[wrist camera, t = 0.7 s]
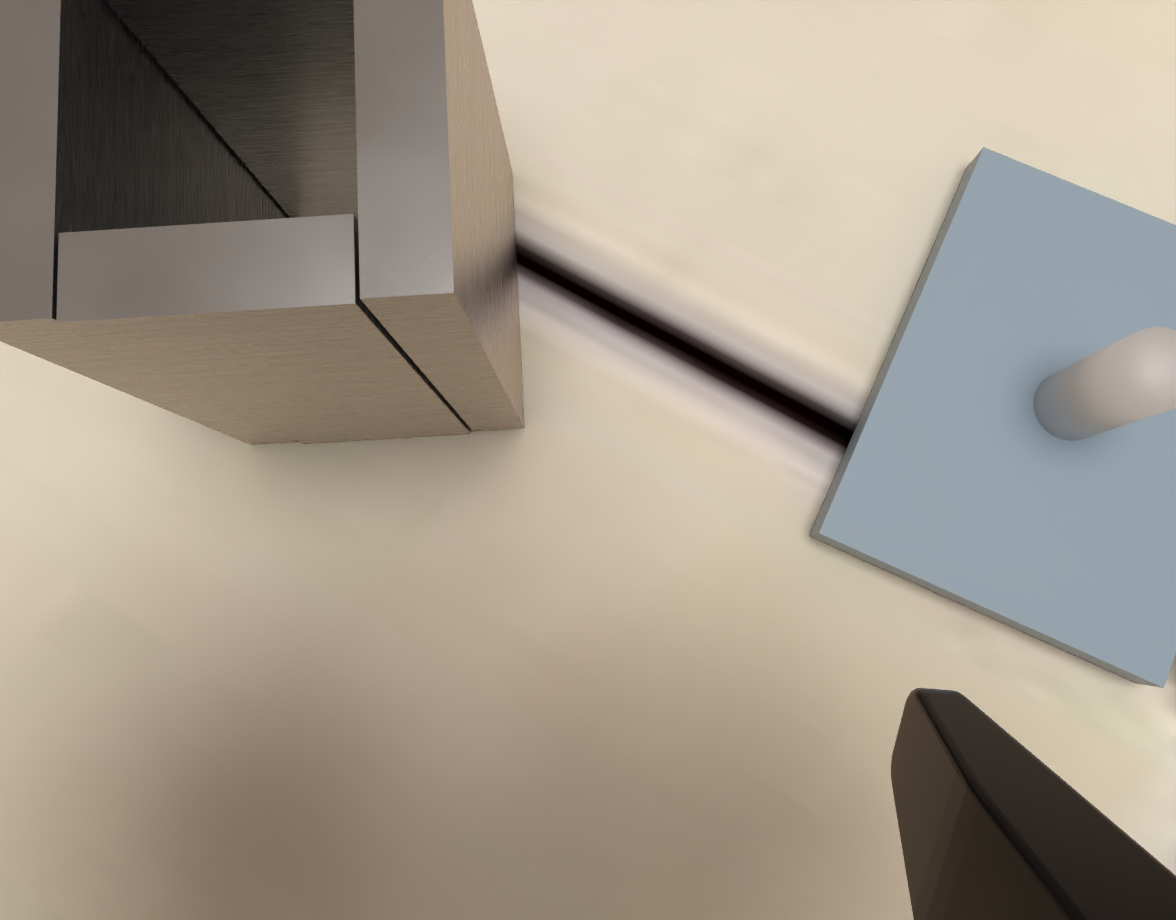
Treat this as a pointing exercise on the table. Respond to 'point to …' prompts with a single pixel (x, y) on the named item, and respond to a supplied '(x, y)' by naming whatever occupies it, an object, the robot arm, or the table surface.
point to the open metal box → (263, 212)
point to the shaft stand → (1030, 422)
